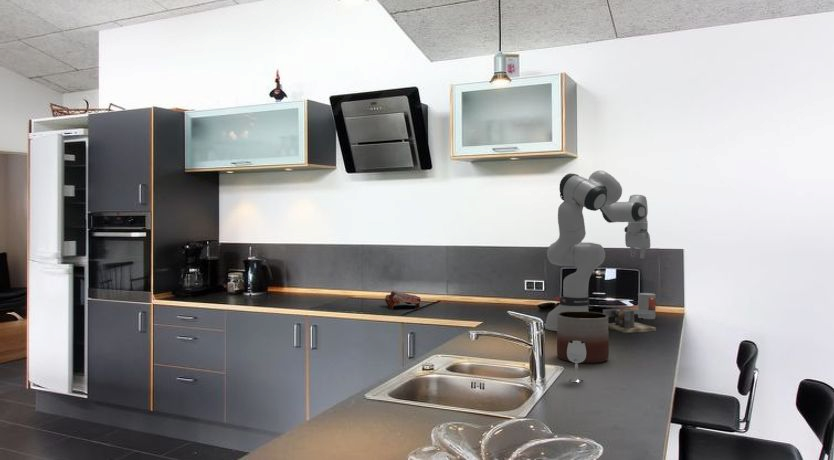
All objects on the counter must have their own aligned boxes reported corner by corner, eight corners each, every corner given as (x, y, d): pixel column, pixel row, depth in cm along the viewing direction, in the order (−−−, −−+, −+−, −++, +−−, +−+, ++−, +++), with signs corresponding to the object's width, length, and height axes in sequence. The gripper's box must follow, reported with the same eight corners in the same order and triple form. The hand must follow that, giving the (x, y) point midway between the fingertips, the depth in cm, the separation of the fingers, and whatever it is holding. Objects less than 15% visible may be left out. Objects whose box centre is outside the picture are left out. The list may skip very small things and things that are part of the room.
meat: (407, 304, 358) (407, 287, 358) (429, 308, 341) (429, 290, 341) (377, 307, 345) (377, 289, 345) (399, 311, 329) (399, 293, 328)
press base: (623, 332, 265) (623, 312, 265) (605, 326, 280) (605, 307, 280) (655, 331, 269) (656, 310, 269) (636, 325, 284) (636, 306, 283)
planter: (600, 367, 204) (601, 320, 204) (549, 360, 213) (550, 315, 213) (614, 356, 219) (614, 313, 219) (566, 351, 229) (566, 309, 228)
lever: (605, 317, 274) (606, 299, 274) (602, 315, 278) (602, 297, 278) (657, 316, 276) (657, 298, 276) (652, 315, 280) (652, 297, 280)
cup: (656, 319, 300) (656, 295, 300) (639, 318, 302) (639, 294, 302) (653, 316, 308) (653, 293, 308) (636, 316, 310) (637, 292, 310)
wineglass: (564, 378, 189) (564, 340, 188) (582, 378, 189) (582, 340, 189) (570, 383, 183) (570, 344, 183) (589, 383, 183) (589, 343, 183)
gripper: (654, 229, 282) (653, 258, 282) (635, 228, 302) (635, 256, 302) (640, 229, 281) (640, 259, 282) (622, 228, 302) (622, 256, 302)
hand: (637, 257), depth 292 cm, fingers open, 8 cm apart
